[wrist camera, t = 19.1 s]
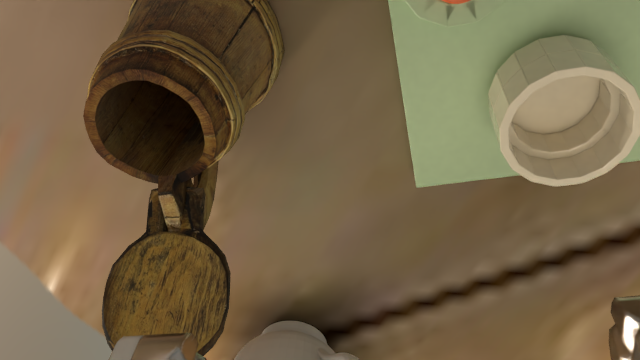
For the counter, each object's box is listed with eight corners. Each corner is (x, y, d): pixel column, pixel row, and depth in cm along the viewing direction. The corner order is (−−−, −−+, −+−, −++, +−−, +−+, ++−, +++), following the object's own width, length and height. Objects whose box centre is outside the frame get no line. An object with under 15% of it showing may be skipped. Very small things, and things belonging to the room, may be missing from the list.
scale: (375, -94, 30) (374, -79, 28) (673, -157, 28) (706, -149, 25) (414, 169, 39) (417, 201, 36) (643, 140, 37) (665, 172, 34)
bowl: (483, 43, 32) (496, 79, 28) (617, 21, 31) (649, 56, 27) (490, 148, 36) (502, 193, 32) (610, 133, 34) (637, 177, 31)
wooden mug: (176, 168, 41) (60, 394, 26) (112, -33, 33) (-100, 127, 19) (304, 159, 40) (258, 393, 25) (267, -51, 32) (171, 105, 17)
